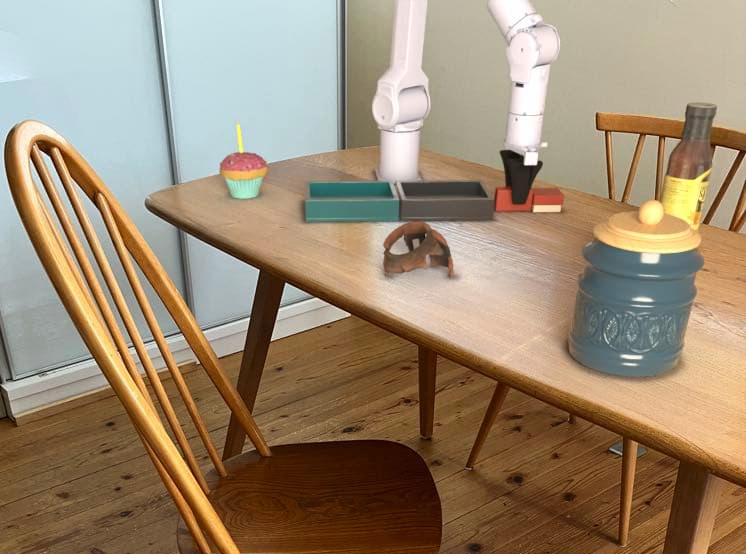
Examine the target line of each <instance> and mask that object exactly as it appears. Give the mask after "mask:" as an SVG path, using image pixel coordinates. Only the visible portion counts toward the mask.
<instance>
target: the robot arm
mask: <svg viewBox="0 0 746 554" xmlns="http://www.w3.org/2000/svg"><path fill="white" fill-rule="evenodd" d="M428 1H429V0H394V4H393V5H394V6H393V21H392V31H391V33H392V34H391V43H390V44H391V47H390V60H389V67H388V68H387V70H386V71H384V73H383V74H382V75H381V76H380V77H379V79H378V80H377V84H376V85H377V86H376V92H375V94H374V96H373V99H372V103H371V112H372V117H373V119H374V121H375V123H376V124H377V128H378V130H380V132H379V133H380V136H379V167H376V168H375V169H374V173H375V175H376V179H377V181H393V183H394V185H395V181H423V180H422V176H421V175H420V172H419V163H420V162H419V161H420V141H421V127H423V126H424V120H425V119H426V118H427V117H428V116H429V114H430V112H431V106H432V104H431V103H432V101H431V95H430V91H429V83H430V82H429V81H430V79H429V77H428V76H427V75H426V73H425V72H424V71H423V69H422V65H423V55H424V44H425V35H426V34H425V33H426V23H427V12H428ZM486 9H487V11H488V12H489V14H490V16H491V18H492V19H493V21H494V23H495V25H496V26H497V28H498V30H499V31H500V33H501V35H502V37H503V38H504V40H505V42H506V43H507V45H508V46H506V49H505V50H506V51H505V52H506V59H507V62H508V64H509V66H510V67H509V68H510V73H509V77H510V78H511V81H510V91H509V100H508V108H507V116H506V117H507V118H506V127H505V138H504V140H503V145H502V146H503V147H504V149H501V150H499V155H500V158H501V161H502V166H503V170H504V179H505V181H504V182H505V187H511V193H512V203H513V204H514V205H523V204H526V201H527V199H528V196H529V193H530V190H531V188H533V187H532V186H533V184H534V182H535V179H536V177H537V175H538V174H539V172H540V171H541V169H542V168H543V166H544V162H543V161H542V160H539V152H540V151H541V149H542V148H547V147H548V143H549V142H548V141H547V140H545V139H542V135H543V134H542V133H543V125H544V117H545V109H546V101H547V96H548V95H547V94H548V87H549V80H550V70H551V64H553V63H554V62H555V61H556V59H557V58H558V56H559V53H560V48H561V39H560V36H559V33H558V30H557V28H556V27H555V25H552V24H551V23H546V22H544V21H543V20H544V19H543V17H542V15H541V14H540V13H539V14H538V11H536V9H535V7H534V6H533V4H532V2H531V0H487V2H486Z"/></svg>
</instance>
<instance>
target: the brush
mask: <svg viewBox="0 0 746 554" xmlns="http://www.w3.org/2000/svg"><path fill="white" fill-rule="evenodd" d="M493 198H494V199H495V201H494V211H495V212H512V211H513V212H517V211H518V212H525V211H526V212H527V211H530V212H531V211H532V213H561V208H562V206H564V199H565V194H564V193H563V192H562V191H561V190H560V189H559V187H531V190H530V193H529V196H528V199H527V201H526V204H523V205H514V204H513V203H512V193H511V187H506V186H495V188H494V196H493Z"/></svg>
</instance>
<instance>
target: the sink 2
mask: <svg viewBox="0 0 746 554" xmlns="http://www.w3.org/2000/svg"><path fill="white" fill-rule="evenodd" d="M394 186H395V189H396V192H397V195H398V198H399V217H398V218H399V220H400V222H413V221H414V220H418V221H421V222H456V221H457V222H463V221H466V222H467V221H468V222H470V221H475V222H477V221H478V222H479V221H493V219H494V211H495V209H494V201H495V199H494V196H493V195H492V193H491V191H490V190H489V188H488V187H487V185H486V183H485V182H484V180H483V179H459V180H457V179H451V180H450V179H445V180H443V179H442V180H441V179H439V180H437V179H435V180H422V181H395V184H394Z"/></svg>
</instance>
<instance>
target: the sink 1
mask: <svg viewBox="0 0 746 554" xmlns="http://www.w3.org/2000/svg"><path fill="white" fill-rule="evenodd" d="M304 210H305V211H304V212H305V222H306V223H346V222H347V223H353V222H354V223H356V222H359V223H361V222H363V223H364V222H365V223H366V222H367V223H368V222H399V218H400V217H399V198H398V195H397V192H396V189H395V184H394V183H393V181H378V180H310V181H309V180H306V181H305V180H304Z"/></svg>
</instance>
